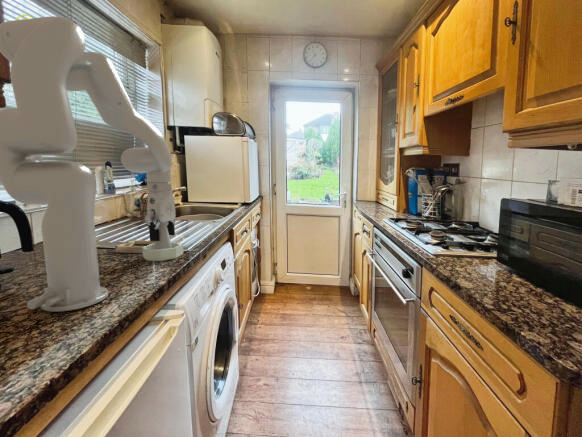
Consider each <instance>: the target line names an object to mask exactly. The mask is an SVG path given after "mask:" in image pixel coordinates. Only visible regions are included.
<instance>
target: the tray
mask: <svg viewBox="0 0 582 437" xmlns="http://www.w3.org/2000/svg"><path fill="white" fill-rule="evenodd" d="M133 244H149V245H150V244H155V241H150V240H134V239H133V240H132V241H129V242H125V243H123V244H122V243H121V244H118V245H116V246H114V251H115V253H130V254H132V253H133V254H134V253H135V254H136V253H137V254H138V253H139V254H143V252H142V247H131V245H133Z"/></svg>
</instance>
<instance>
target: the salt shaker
mask: <svg viewBox="0 0 582 437" xmlns="http://www.w3.org/2000/svg"><path fill="white" fill-rule="evenodd" d="M154 224H156V223H154ZM167 225H168V221H167V222H164V223H162V222H160V224H159V226H158V229H159V233H160V241H155V245H154V249H168V248H172V245H171V238H170V235H169V233H168V229H167Z"/></svg>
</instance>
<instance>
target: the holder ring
mask: <svg viewBox="0 0 582 437" xmlns="http://www.w3.org/2000/svg"><path fill="white" fill-rule="evenodd" d="M154 245H155V244H150V245H147V246H144V247H142V252H143V253H142V257H143V258H144V259H145V261H150V262H151V261H153V262H155V261H156V262H157V261H158V262H159V261H160V262H162V261H167V260H172V259H177V258H179V257H180V256H181V255H183V254H184V244H182V243H180V242H171V245H172V248H168V249H154Z"/></svg>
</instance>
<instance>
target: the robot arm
mask: <svg viewBox="0 0 582 437" xmlns="http://www.w3.org/2000/svg"><path fill="white" fill-rule="evenodd" d="M85 49H86V38H85V35H84V32H83V30H82V29H81V27H80V26H79V25H78V24H77V23H76V22H74V21H73V20H71V19H69V18H66V17H62V16H42V17H32V18H25V19H17V20H7V21H4V22H1V23H0V53H1V55H3V57H4V58H5V59H6V60H8V62H10V63H11V65H10V80H11V86H12V90H13V96H14V100H15V103H16V104H15V105H16V107H14V108H5V109H0V180H1V184H2V186H3V188H4V190H5V192H6V193H7V194H8V195H9V196H10V198H12V200H15V201H17V202H19V203H21V204H25V205H26V204H27V205H38V206H39V205H43V206H44V205H45V206H47V207H46V210H45V211H44V214H43V216H42V220H41V237H42V246H43V252H44V262H45V271H46V280H47V281H46V283H47V287H45V288H43V293H42V294H41V295H40V296H37V297H35V298H32V299H29V300H28V301H27V303H26V306H27V308H28V309H29V310H35V309H37V308H39V307H40V309H42V310H43V311H46V312H52V313H53V312H57V313H58V312H67V311H73V310H74V311H75V310H80V309H83V308H87V307H89V306H90V307H91V306H93V305H95V304H98V303H100V302H102V301H104V300H105V299H106V298H108V296H109V290H108V288H106V287H104V286H101V282H100V271H99V270H100V269H99V259H98V248H97V247H98V246H97V239H96V238H97V236H96V235H97V234H96V225H95V202H96V194H97V189H98V188H97V187H98V186H97V178H96V176H95V174H94V172H93V171H92V170H91V169H90V168H89V167H88V166H87V165H85V164H83V163H80V162H76V161H71V160H44V159H43V156H46V155H47V156H49V155H50V156H53V155H54V156H55V155H56V156H57V155H63V154H68V153H71V152H72V151H74V150H75V149H76V148H77V145H78V133H77V129H76V124H75V121H74V116H73V112H72V107H71V104H70V100H69V99H70V98H69V94H68V91H69V92H83V91H85V92H86V93H87V95H88V97H89V98H90V100H91V101H92V103H93V105H94V107H95V109H96V111H97V112H98V115H100V118H101V119H102V121H103V122H104V123H105V124H106V125H108V126H110V127H113V128H114V129H117V130H119V131H121V132H125V133H127V134H130V135H131V136H134V137H136V138H137V139H138V140H140V141H141V142H142V143H144V144H145V145H146V146H144V147H131V148H127V149H125V150H124V151H123V152H122V154H121V156H120V162H121V165H122V166H123V168H125V169H126V170H127V171H128V172H131V173H136V174H138V173H142V174H143V173H144V174H145V173H146V188H147V205H146V206H147V207H146V208H147V214H146V215H145V216H144V221H145V223H146V226H147V229H148V231H149V232H148V233H149V241H160V233H159V229H158V226H159V224H160V222H162V223H164V222H167V221H168V225H167V229H168V233H169V236H175V235H176V231H175V224H176V222H175V220H176V216H177V214H176V213H177V212H176V205H175V199H174V198H175V197H174V194H173V188H172V186H173V185H172V184H173V183H172V171H171V169H172V168H171V167H172V164H173V158H172V154H171V150H170V148H169V147H168V144H167V142H166V139H165V137H164V135H163V134H162V132H160V130H159V129H158V128H156V126H154V125H153V124H152V123H151V122H150V121H149V120H148V119H146V118H145V117H143V116H142V115H141V114H139V113H138V112H137V111H136V108H134V107H135V106H133V104H132V100H131V99H130V97H129V95H128V93H127V91H126V89H125V86H124V84H123V82H122V80H121V78H120V76H119V74H118V72H117V70H116V68H115V66H114V64H113V63H112V61H111V59H110V58H109V57H108V56H106V55H105V54H102V53H100V52H97V51H96V52H95V51H85ZM155 223H156V224H155Z"/></svg>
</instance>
